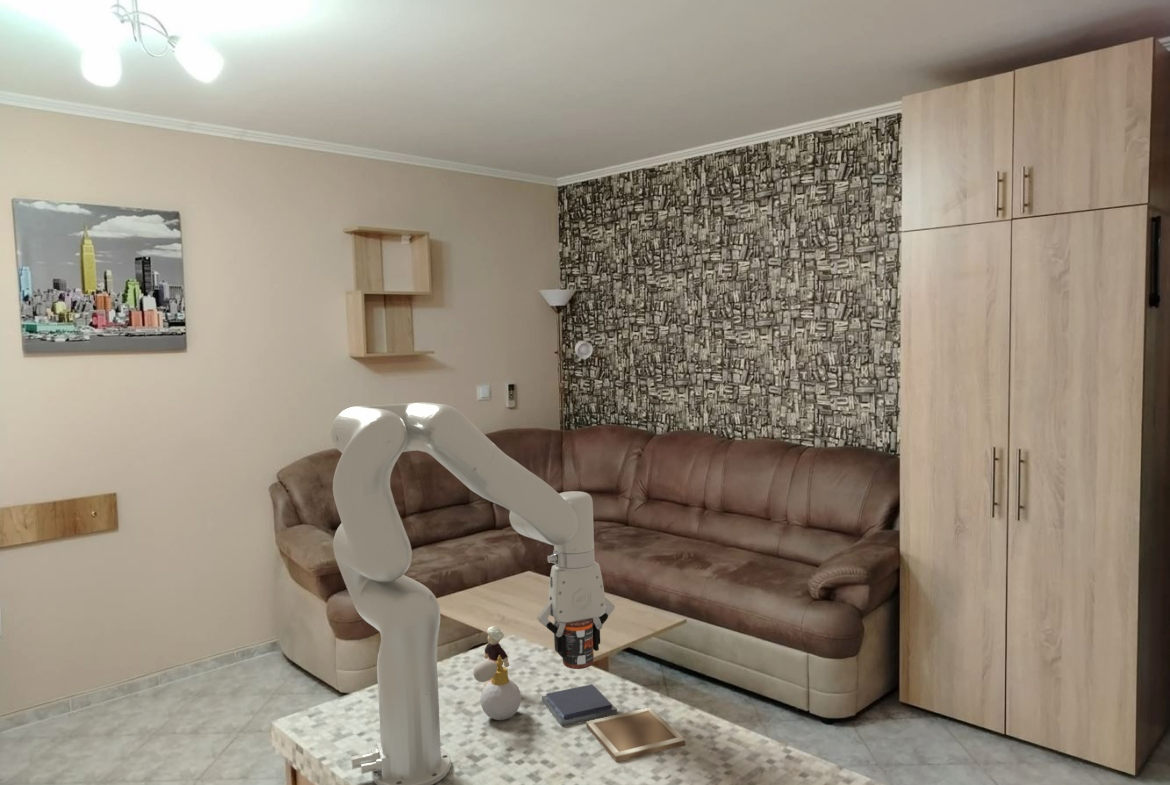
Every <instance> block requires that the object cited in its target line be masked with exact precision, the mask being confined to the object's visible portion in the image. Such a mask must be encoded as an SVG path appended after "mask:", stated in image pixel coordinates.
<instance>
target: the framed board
mask: <svg viewBox="0 0 1170 785" xmlns="http://www.w3.org/2000/svg"><path fill="white" fill-rule="evenodd" d="M585 724H586V725H585V726H586V728H587V729H588V731H589V730H590V731H589V733H591V734H592V736H593V737H594V738H595V737H596V738H595V739H596V740H597V741H598V742H599V744H600V745H601V747H603V749H605V751H606V752H607V753H608V754H609V755H610V757H611V758H612V759H613V760H614V762H616V763H617V762H620V761H621V762H622V761H625V760H629V759H632V758H633V759H634V758H637V757H641V756H645V755H650V754H654V753H658V752H662V751H666V750H670V749H673V748H678V747H682V746H686V739H685V737H683V736H682V735H681V734H680V733H679V732H678V731H677V730H676V729H675V728H674V727H673V726H671V725H670V724H669V723H668V722H667V721H666V720H665V719H664V718H663V717H662V716H660V715H659V713H658V712H656V711H655V710H654V709H653V708H652V707H651V706H650V707H645V708H641V709H636V710H632V711H628V712H624V713H623V712H622V713H619V714H618V713H617V714H616V715H612V716H607V717H603V718H598V719H594V720H589V721H585Z"/></svg>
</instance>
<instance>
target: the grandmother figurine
mask: <svg viewBox="0 0 1170 785" xmlns="http://www.w3.org/2000/svg"><path fill="white" fill-rule="evenodd" d="M486 633H487V642H488V643H487V645H486V646H485V648H484V654H483V659H485V660H487V659H488V661H494V662H495V663H496V662H497V661H498V656H499V655H500V657H501V658H502V659H501V660H502V661H503V665H504V666H503V667H505V668H508V667H509V666H510V662H509V656H508V653H507V652H506V651H505V650H504V648H503V647H502V646H501V644H500V641H501V640H502V639H503V638H504V636H505V634H504V633H503V631H502V629H501V628H500V627H498V626H493V625H492V626H490V627H488V628H487V631H486ZM497 667H498V666H497ZM491 680H492V678H491V679H490V680H488V681H486V682H484V685H483V686H484V687H485V686H486V684H487V683H489V682H490V681H491ZM484 687H483V688H484Z"/></svg>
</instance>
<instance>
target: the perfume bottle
mask: <svg viewBox="0 0 1170 785" xmlns="http://www.w3.org/2000/svg"><path fill="white" fill-rule="evenodd" d="M501 659H502V658H501V657H500V655H499V656H498V661H497V662H496V663H495V662H494V661H489V660H483V661H480V662H478V663H477V664H476V665H475V666H474V668H473V672H472V673H473V677H474V679H475V680H476V681H478V682H479V683H486V682H488V680H490V679H491V678H492V680H491V681H490V682H489V683H487V684H486V686H485V687H483V688H482V691H481V694H480V706H481V708H482V710H483V712H484V713H485V715H486V716H487V717H489V718H490V719H493V720H496V721H497V720H498V721H503V720H507V719H510V718H511V717H513V716H514V715H516V713H517V712H518V710H519V709H520V706H521V703H522V702H521V701H522V696H521V694H522V693H521V690H520V687H519V686H518V685H517V684H516V683H515V682H514V681H513V680H512V679H510V678H509V676H508V675H509V674H508V673H509V672H508V667H505V666H503V665H504V662H503V660H501ZM497 666H498V667H497Z"/></svg>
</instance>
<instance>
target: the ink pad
mask: <svg viewBox="0 0 1170 785" xmlns="http://www.w3.org/2000/svg"><path fill="white" fill-rule="evenodd" d="M541 701H542V703H543V705H544V704H545V705H546V706H545V705H544V706H545V707H546V708H547V710H548V709H549V710H548V711H549V712H550V713H552V717H554V719H555V718H556V719H555V720H556V721H557V722H558V724H559V725H560V726H561V727H566V726H565V725H567V726H570V725H574V724H575V723H576V724H579V722H580V723H585V722H586V721H587V720H589V721H591V720H593V719H594V720H595V719H597V718H598V719H600V718H602V717H603V718H604V717H606V716H607V717H609V716H610V715H612V716H613V715H614V714H616V715H618V709H617V708H616V707H615V706H614V704H612V703H611V701H610V700H609V699H608V698H607V696H605V695H604V694H603V693H602V692H601V691H600V690H599V689H598V688H597V687H596V686H595V685H594V684H591V683H590V684H586V685H583V686H578V687H572V688H567V689H562V690H558V691H553V692H547V693H546V694H545V695H542V696H541ZM584 721H585V722H584Z"/></svg>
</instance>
